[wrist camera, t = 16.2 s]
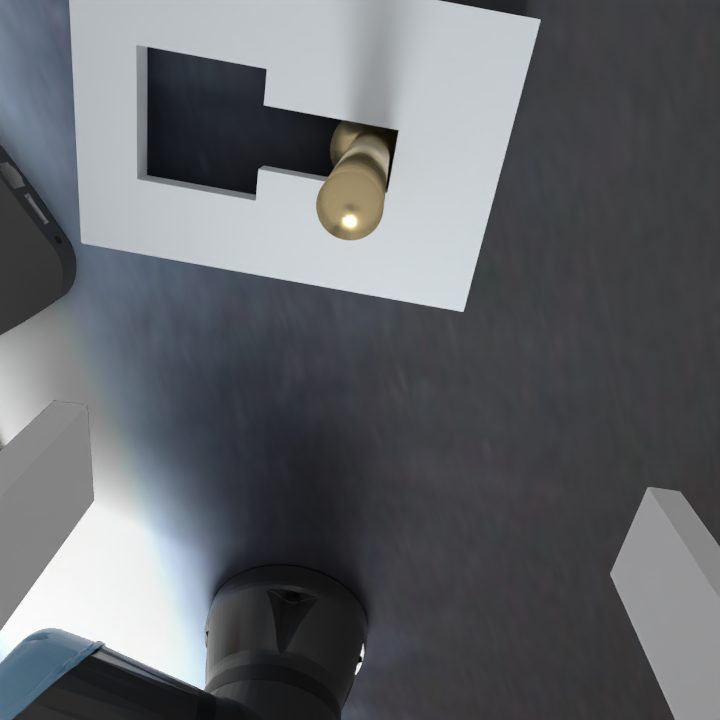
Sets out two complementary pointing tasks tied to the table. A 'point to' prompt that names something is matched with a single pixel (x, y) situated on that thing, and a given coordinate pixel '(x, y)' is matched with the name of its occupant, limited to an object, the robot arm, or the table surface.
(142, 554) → the table surface
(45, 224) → the media streaming box
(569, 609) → the table surface
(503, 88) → the keyhole plate
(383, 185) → the brass peg
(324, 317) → the table surface
